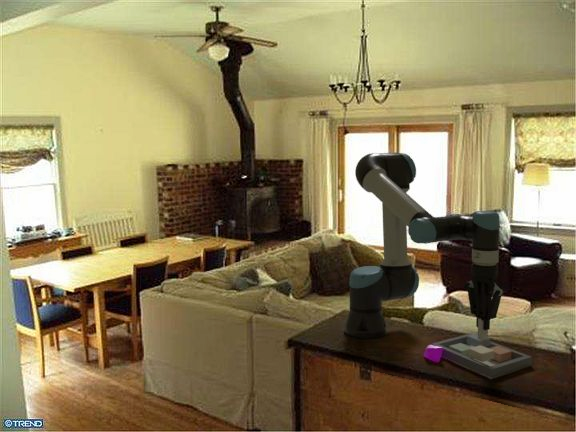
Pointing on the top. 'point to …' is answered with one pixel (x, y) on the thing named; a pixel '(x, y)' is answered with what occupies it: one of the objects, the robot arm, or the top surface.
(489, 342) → the key slate
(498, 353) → the key terracotta
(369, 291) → the robot arm
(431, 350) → the crystal
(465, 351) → the key sage
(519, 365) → the grey tray
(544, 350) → the top surface
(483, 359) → the key cream
